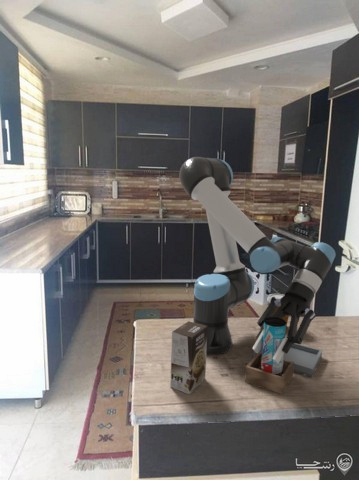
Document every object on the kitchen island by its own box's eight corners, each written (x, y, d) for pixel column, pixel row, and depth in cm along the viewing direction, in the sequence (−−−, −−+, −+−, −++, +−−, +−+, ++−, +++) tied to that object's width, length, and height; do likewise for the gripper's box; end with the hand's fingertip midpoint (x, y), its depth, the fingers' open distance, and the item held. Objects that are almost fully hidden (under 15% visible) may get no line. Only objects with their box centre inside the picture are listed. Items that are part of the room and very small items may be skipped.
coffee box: (190, 395, 92) (192, 337, 89) (169, 387, 95) (170, 331, 92) (206, 379, 99) (208, 325, 97) (186, 372, 103) (188, 320, 100)
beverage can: (264, 363, 104) (267, 315, 101) (284, 369, 101) (288, 319, 98) (258, 372, 99) (261, 322, 96) (279, 379, 96) (283, 327, 93)
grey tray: (252, 358, 111) (253, 351, 111) (267, 342, 123) (267, 335, 122) (312, 377, 102) (312, 369, 101) (321, 357, 113) (322, 350, 113)
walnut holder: (244, 381, 99) (245, 366, 98) (258, 365, 108) (259, 351, 107) (282, 394, 93) (283, 379, 92) (293, 376, 102) (294, 361, 101)
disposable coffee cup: (291, 333, 130) (294, 302, 128) (265, 330, 132) (267, 300, 130) (289, 323, 140) (291, 294, 137) (264, 320, 141) (266, 292, 139)
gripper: (337, 304, 99) (300, 377, 91) (279, 286, 113) (243, 348, 106) (330, 290, 94) (291, 365, 87) (271, 273, 109) (232, 336, 101)
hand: (265, 356), depth 96 cm, fingers closed on beverage can, 6 cm apart
